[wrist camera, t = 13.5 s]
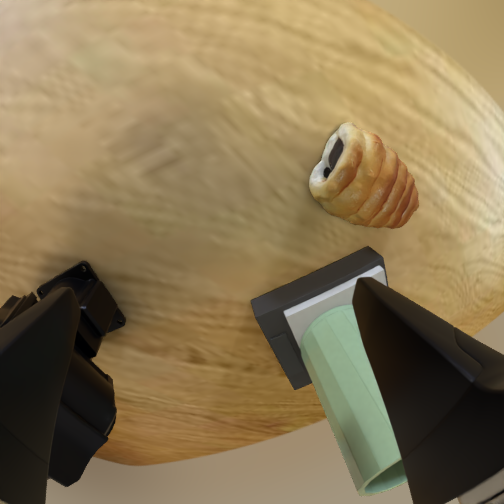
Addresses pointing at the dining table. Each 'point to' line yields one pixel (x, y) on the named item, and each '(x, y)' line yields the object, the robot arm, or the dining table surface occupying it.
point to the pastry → (363, 180)
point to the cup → (352, 400)
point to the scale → (311, 306)
